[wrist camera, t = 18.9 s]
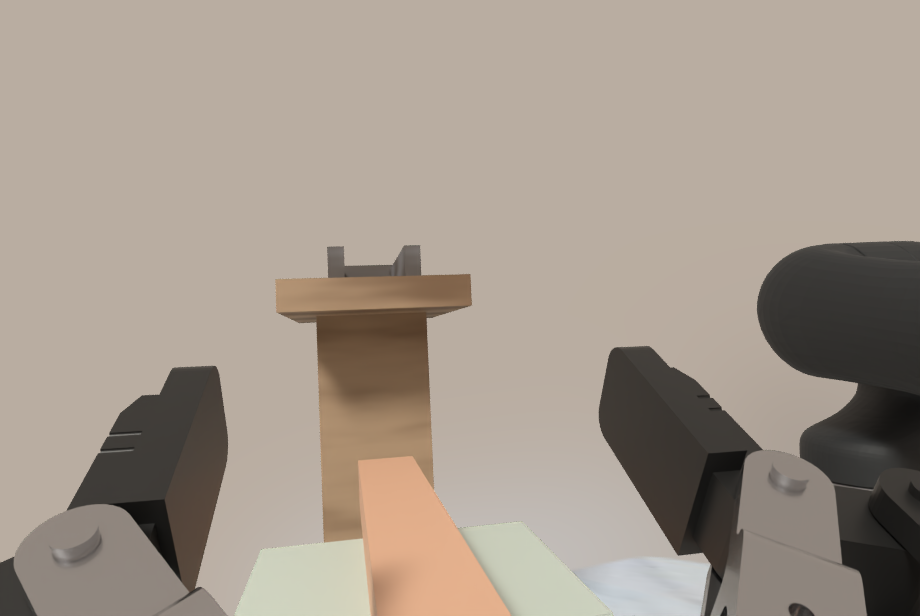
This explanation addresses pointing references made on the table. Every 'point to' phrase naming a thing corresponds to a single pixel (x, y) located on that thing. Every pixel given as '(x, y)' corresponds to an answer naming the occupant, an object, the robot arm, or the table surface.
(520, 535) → the pedestal
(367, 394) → the stand
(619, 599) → the table surface
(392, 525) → the block
